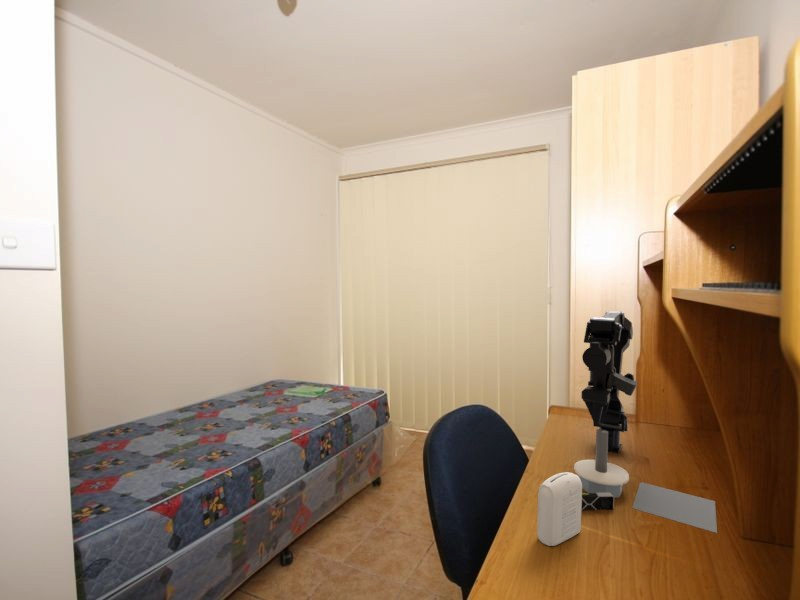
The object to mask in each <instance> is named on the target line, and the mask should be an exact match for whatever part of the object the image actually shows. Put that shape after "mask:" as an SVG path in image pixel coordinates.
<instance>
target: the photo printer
mask: <svg viewBox="0 0 800 600" xmlns="http://www.w3.org/2000/svg"><path fill="white" fill-rule="evenodd" d="M582 493H583V488H582V482H581V480H580V478H579V475H578V474H574V473H573V472H570V471H569V472H568V471H565V472H559V473H556V474H554V475H552V476H550V477H549V478H546V480H544V481H542V483H541V484H540V486H539V488H538V495H537V496H538V497H537V524H536V525H537V526H536V527H537V529H536V530H537V531H536V532H537V533H536V534H537V535H536V536H537V538H538V539H539V541H540V542H541V543H542V544H543V545H546V546H548V547H551V546H552V547H553V546H557V545H559V544H562V543H564V542H566V541H567V540H569V539H571V538H573V537H575V536H577V534H579V533H580V532H581V529H582V510H581V507H582Z"/></svg>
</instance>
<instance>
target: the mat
mask: <svg viewBox="0 0 800 600" xmlns="http://www.w3.org/2000/svg"><path fill="white" fill-rule="evenodd" d="M716 508H717V507H716V501H715V500H712V499H709V498H705V497H700V496H696V495H693V494H688V493H684V492H681V491H677V490H673V489H668V488H666V487H663V486H662V487H661V486H658V485H654V484H650V483H646V482H642V481H639V484H638V488H637V492H636V494H635V497H634V502H633V504H632V509H633V510H636V511H640V512H642V513H643V512H645V513H648V514H650V515H652V516H653V515H654V516H657V517H661V518H665V519H668V520H671V521H673V522H678V523H681V524H685V525H688V526H691V527H694V528H697V529H702V530H705V531H709V532H711V533H716V534H718V528H717V527H718V526H717V525H718V524H717V513H716V512H717V511H716Z"/></svg>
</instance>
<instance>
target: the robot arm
mask: <svg viewBox="0 0 800 600" xmlns="http://www.w3.org/2000/svg"><path fill="white" fill-rule="evenodd" d="M633 329H634V328H633V323H632V321H630V319H628V318H627V317H626V316H625V312H623V311H619V310H618V311H616V310H608V311H605V313H604V314H603V316H601V317H594V316H593V317H590V319H589V320H588V321H587V322H586V327H585V332H584V338H583V343H585V344H589V347H588V348H586V349H585V350H583V351H584V352H583V353H582V357H581V358H582V362H583V364H584V365H585V366H586V367H587V368H588V372H589V381H587V386H586V387H585V388H584V389H582V391H581V399H582V401H583V402H584V404H585V407H586V409H587V410H588V412H589V414H590V417H591V420H592V424H593V427H594V428H595V427H597V428H599V429H602V430H606V431H608V451H610V452H614V453H620V452H621V450H622V448H623V444H621V443H620V441H621V433H624V432H628V430H629V427H628V426H629V424H628V416H626V415H627V414H626V412H625V411H624V406H623V404H622V402H621V400H620V398H619V396H620V392H622V393H624V394H625V395H626V396H629V397H631V396H632V395H633V394H634V392H635V389H636V388H637V386H638V383H639V382H638V381H637V380H635V375H634V374H632V373H630V372H627V373H626V374H624V375H623V374H622V367H623V366H622V365H623V358H624V357H623V356H624V353H625V351H626V350H627V349H628V348H629V347H630V342H631V340H633V336H634V335H633V334H634V332H633V331H634V330H633Z"/></svg>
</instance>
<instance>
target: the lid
mask: <svg viewBox="0 0 800 600" xmlns="http://www.w3.org/2000/svg"><path fill="white" fill-rule="evenodd" d="M608 451H609V450H608V431H606V430H602V429H596V430H595V459H581V460H578V461H576V462H575V463H574V466H573V467H574V473H576V475H578V477H579V476H580V477H582V478H584V479H586V480H588V481H591V482H594V483H598V484H602V485H610V486H618V485H622V486H624V485H625V484H627V483H629V481H630V474H629V472H628V471H627V470H626V469H624V468H623V467H622V466H619V465H616V464H615V463H612V462H608Z"/></svg>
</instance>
